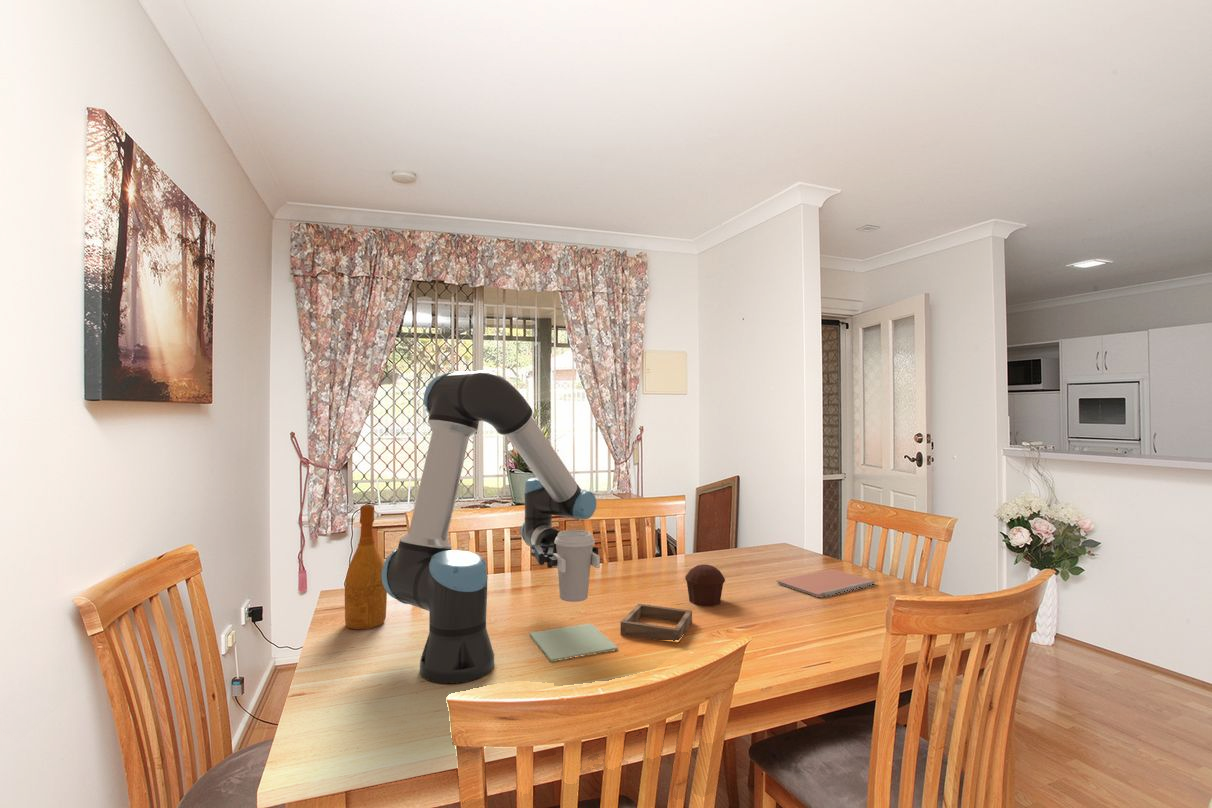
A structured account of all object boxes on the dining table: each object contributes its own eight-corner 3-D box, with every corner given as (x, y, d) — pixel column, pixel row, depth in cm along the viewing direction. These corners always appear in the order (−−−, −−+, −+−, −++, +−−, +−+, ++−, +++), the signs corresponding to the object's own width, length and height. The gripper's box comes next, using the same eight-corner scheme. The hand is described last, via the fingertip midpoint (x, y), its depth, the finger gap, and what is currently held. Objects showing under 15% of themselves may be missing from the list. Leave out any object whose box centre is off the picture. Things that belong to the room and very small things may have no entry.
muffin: (694, 592, 173) (694, 558, 173) (730, 598, 168) (730, 564, 168) (678, 603, 163) (678, 568, 163) (716, 611, 157) (716, 574, 158)
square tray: (678, 643, 135) (678, 630, 135) (620, 634, 140) (620, 622, 140) (691, 622, 149) (692, 610, 149) (638, 614, 154) (638, 603, 154)
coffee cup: (557, 605, 130) (558, 538, 130) (549, 592, 139) (551, 529, 139) (598, 602, 132) (599, 536, 132) (588, 589, 142) (589, 528, 142)
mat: (617, 650, 131) (617, 647, 131) (550, 662, 125) (550, 659, 125) (590, 625, 146) (590, 623, 146) (529, 635, 139) (529, 632, 139)
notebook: (820, 601, 168) (820, 594, 168) (776, 585, 182) (776, 579, 182) (878, 587, 182) (878, 580, 182) (832, 573, 196) (832, 567, 196)
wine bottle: (393, 617, 150) (394, 502, 151) (374, 632, 140) (376, 508, 141) (357, 616, 151) (358, 501, 151) (336, 630, 141) (337, 507, 142)
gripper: (585, 552, 156) (622, 575, 135) (510, 560, 148) (537, 586, 127) (585, 524, 156) (622, 543, 135) (511, 531, 148) (537, 552, 127)
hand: (581, 564), depth 131 cm, fingers closed on coffee cup, 8 cm apart
